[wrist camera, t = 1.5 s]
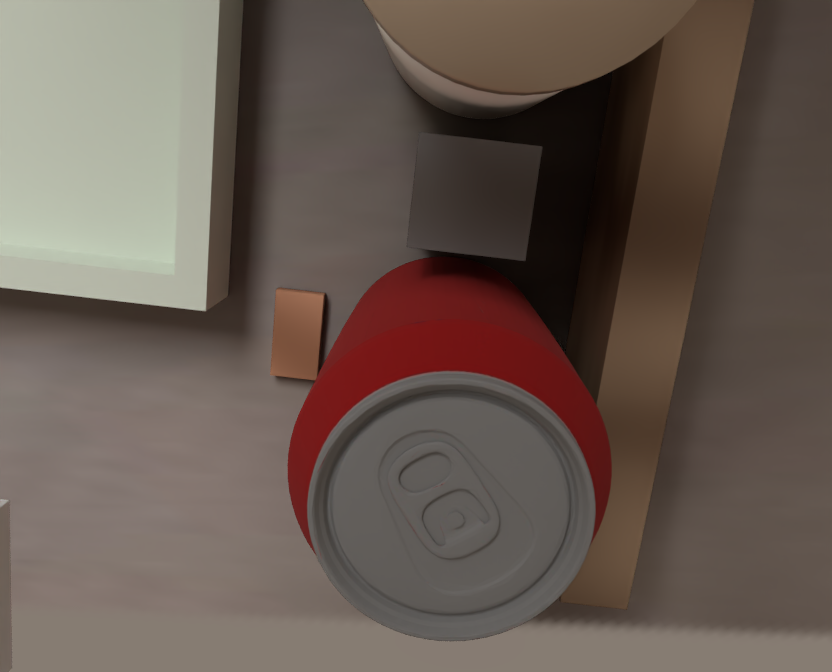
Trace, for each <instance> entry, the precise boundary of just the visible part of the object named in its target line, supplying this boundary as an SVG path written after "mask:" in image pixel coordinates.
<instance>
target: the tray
mask: <svg viewBox="0 0 832 672" xmlns="http://www.w3.org/2000/svg"><path fill="white" fill-rule="evenodd" d="M242 19H243V0H0V287H1V288H9V289H18V290H27V291H35V292H44V293H53V294H61V295H70V296H78V297H87V298H96V299H104V300H113V301H122V302H130V303H139V304H147V305H156V306H165V307H173V308H182V309H191V310H199V311H207V310H208V309H210V308H211V307H213V306H214V305H216V304H217V303H219V302H220V301H222V300H223V299H225V298H226V297H228V289H229V270H230V250H231V231H232V212H233V193H234V173H235V154H236V135H237V116H238V96H239V77H240V58H241V39H242Z"/></svg>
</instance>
